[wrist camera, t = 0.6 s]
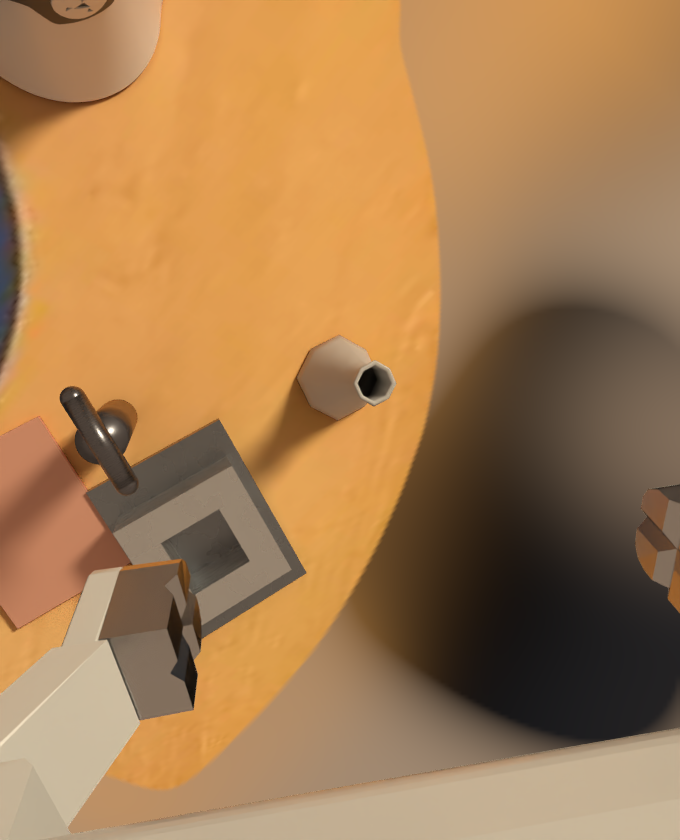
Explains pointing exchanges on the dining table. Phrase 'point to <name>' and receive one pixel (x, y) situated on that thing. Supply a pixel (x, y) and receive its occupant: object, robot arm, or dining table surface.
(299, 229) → the dining table surface
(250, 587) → the block
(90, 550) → the key mat
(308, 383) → the flask
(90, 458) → the chuck key
